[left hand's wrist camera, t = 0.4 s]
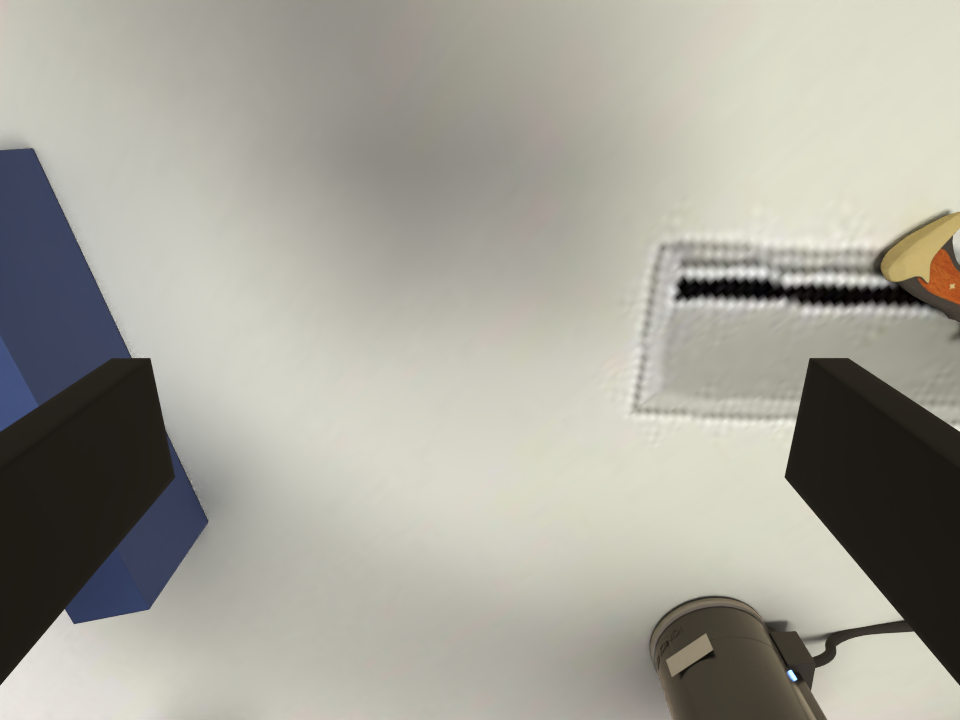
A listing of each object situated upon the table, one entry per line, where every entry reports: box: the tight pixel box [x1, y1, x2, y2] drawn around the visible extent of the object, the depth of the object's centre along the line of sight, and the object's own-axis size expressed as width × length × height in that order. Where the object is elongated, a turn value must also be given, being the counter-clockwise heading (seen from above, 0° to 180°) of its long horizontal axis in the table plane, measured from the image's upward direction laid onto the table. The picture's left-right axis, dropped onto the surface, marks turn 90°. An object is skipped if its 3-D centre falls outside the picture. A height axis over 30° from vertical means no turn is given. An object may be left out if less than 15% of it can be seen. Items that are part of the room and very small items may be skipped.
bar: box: [0, 148, 208, 624], centre depth 38 cm, size 27×5×9 cm, turn 13°
